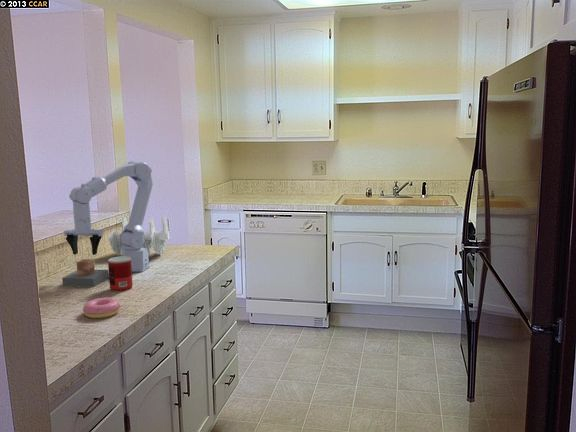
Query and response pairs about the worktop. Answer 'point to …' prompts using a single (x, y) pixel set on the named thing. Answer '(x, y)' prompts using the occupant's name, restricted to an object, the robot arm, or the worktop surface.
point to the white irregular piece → (150, 238)
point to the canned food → (120, 273)
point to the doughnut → (101, 307)
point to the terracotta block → (85, 267)
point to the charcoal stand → (85, 278)
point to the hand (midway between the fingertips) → (85, 254)
